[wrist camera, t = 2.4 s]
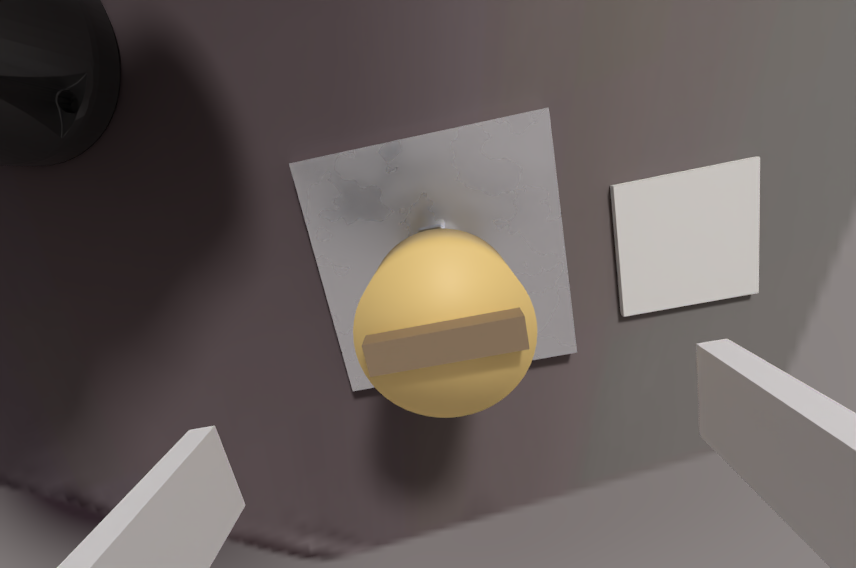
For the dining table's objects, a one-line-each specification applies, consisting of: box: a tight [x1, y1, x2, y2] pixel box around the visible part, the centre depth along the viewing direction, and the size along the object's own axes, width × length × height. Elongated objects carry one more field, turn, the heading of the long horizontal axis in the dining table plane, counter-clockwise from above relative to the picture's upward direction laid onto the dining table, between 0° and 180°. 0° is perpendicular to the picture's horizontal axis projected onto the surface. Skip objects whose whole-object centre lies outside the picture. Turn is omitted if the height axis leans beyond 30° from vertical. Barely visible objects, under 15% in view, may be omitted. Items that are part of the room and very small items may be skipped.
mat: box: [610, 157, 760, 317], centre depth 30 cm, size 10×10×1 cm
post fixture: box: [289, 108, 577, 391], centre depth 27 cm, size 18×18×10 cm
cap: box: [353, 229, 537, 418], centre depth 19 cm, size 8×8×6 cm
